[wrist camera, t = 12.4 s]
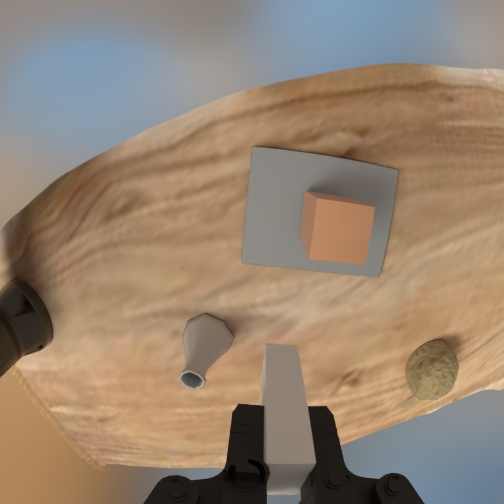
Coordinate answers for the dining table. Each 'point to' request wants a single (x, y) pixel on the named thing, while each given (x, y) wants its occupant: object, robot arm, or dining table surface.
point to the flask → (203, 348)
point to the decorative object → (432, 370)
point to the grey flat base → (291, 204)
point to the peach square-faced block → (336, 228)
